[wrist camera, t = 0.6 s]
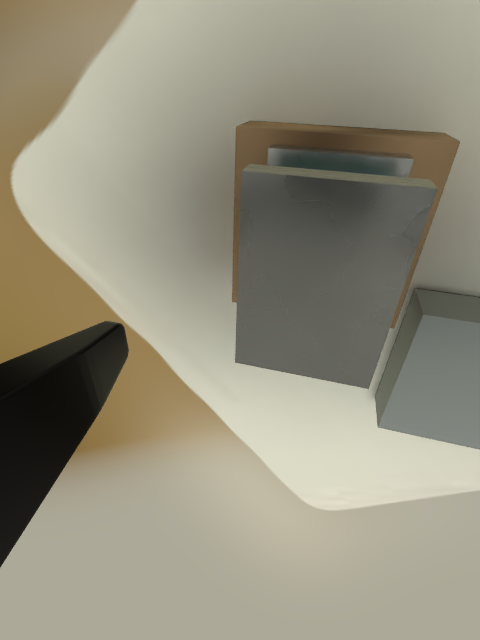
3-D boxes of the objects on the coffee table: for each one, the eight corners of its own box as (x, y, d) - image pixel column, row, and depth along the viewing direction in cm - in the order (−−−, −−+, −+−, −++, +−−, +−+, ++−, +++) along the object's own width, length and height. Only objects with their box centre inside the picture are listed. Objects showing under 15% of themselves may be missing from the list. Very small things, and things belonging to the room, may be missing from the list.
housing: (409, 154, 13) (437, 188, 9) (363, 314, 17) (368, 388, 13) (273, 144, 14) (241, 171, 10) (261, 298, 18) (235, 362, 14)
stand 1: (444, 132, 14) (460, 141, 12) (389, 301, 19) (393, 328, 17) (250, 120, 15) (236, 126, 14) (243, 279, 20) (232, 301, 18)
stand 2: (596, 314, 16) (630, 346, 14) (513, 424, 21) (531, 460, 19) (414, 288, 18) (423, 314, 16) (375, 396, 22) (377, 427, 20)
